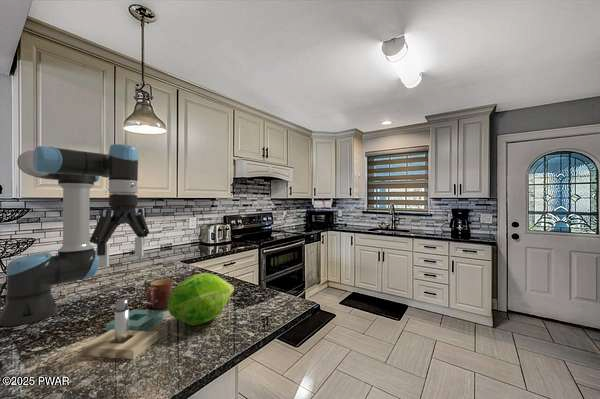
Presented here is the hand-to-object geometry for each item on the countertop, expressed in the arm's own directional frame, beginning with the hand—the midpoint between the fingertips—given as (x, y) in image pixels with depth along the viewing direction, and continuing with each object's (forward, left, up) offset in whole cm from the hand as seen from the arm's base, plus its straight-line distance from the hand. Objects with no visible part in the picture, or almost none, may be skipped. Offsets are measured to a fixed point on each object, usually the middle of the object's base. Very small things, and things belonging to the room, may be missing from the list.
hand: (122, 260), depth 81 cm
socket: (-3, +9, -25) cm, 26 cm away
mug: (-5, +24, -25) cm, 35 cm away
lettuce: (+19, +15, -25) cm, 35 cm away
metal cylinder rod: (+3, -4, -25) cm, 25 cm away
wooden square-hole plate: (+3, -4, -25) cm, 25 cm away
